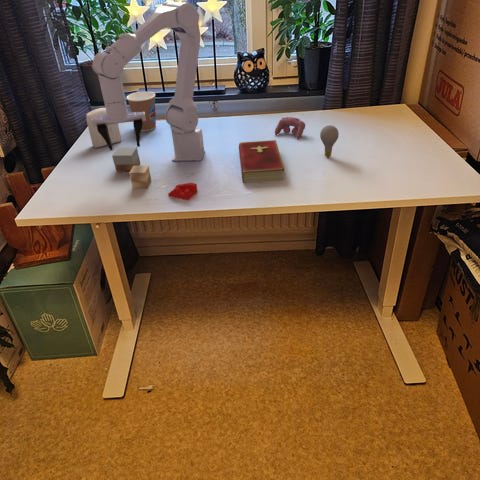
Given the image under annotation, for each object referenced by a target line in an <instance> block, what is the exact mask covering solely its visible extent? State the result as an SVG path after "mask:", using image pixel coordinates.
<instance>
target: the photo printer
mask: <svg viewBox="0 0 480 480" xmlns="http://www.w3.org/2000/svg"><path fill="white" fill-rule="evenodd" d="M105 115H107V112H106V108H105V107H100V108H99V107H98V108H96V109H93V110H91V111H89V112H87V113H86V114H85V118H86V123H87V127H88V131H89V136H90V140H91V144H92V147H93V148H95V149H97V148H100V147H105V146H108V145H107V143H106V141H105V140H104V138H103V137H102V136H101V134H100V133H99V132H98V130H97V127H93V126H92V122H91V119H92V118H96V117H101V116H105ZM107 126H108V131H109V136H110V139H111V143H112V145H113V144H116V143H120V142H122V135H121V131H120V126H119V123H117V124H109V125H107Z"/></svg>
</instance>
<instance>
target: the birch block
mask: <svg viewBox="0 0 480 480" xmlns="http://www.w3.org/2000/svg"><path fill="white" fill-rule="evenodd" d="M128 173H129V178H130V183H131V187H132V189H149V188H150V185H151V183H152V177H151V170H150V165H140V166H133V167H132V169H131V171H130V172H128Z"/></svg>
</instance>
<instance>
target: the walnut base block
mask: <svg viewBox="0 0 480 480" xmlns="http://www.w3.org/2000/svg"><path fill="white" fill-rule="evenodd" d="M133 166H141V159H140V156H138V158H137V160H136V161H135V163H134V164H130V165H114V168H115V171H116V173H117V174H120V173H124V172H125V173H129V172H130V171H131V169H132V167H133Z"/></svg>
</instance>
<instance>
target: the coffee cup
mask: <svg viewBox="0 0 480 480" xmlns="http://www.w3.org/2000/svg"><path fill="white" fill-rule="evenodd" d="M155 100H156V93H155V92H153V91H137V92H132V93H130V94H128V95H127V96H126V101H127V102H128V104H129V108H130V111H131V112H145V117H146V121H142V123H143V125H142V129H141V132H148V131H152V130H155V128H156V127H157V126H156V124H157V117H156V114H157V113H156V101H155Z"/></svg>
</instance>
